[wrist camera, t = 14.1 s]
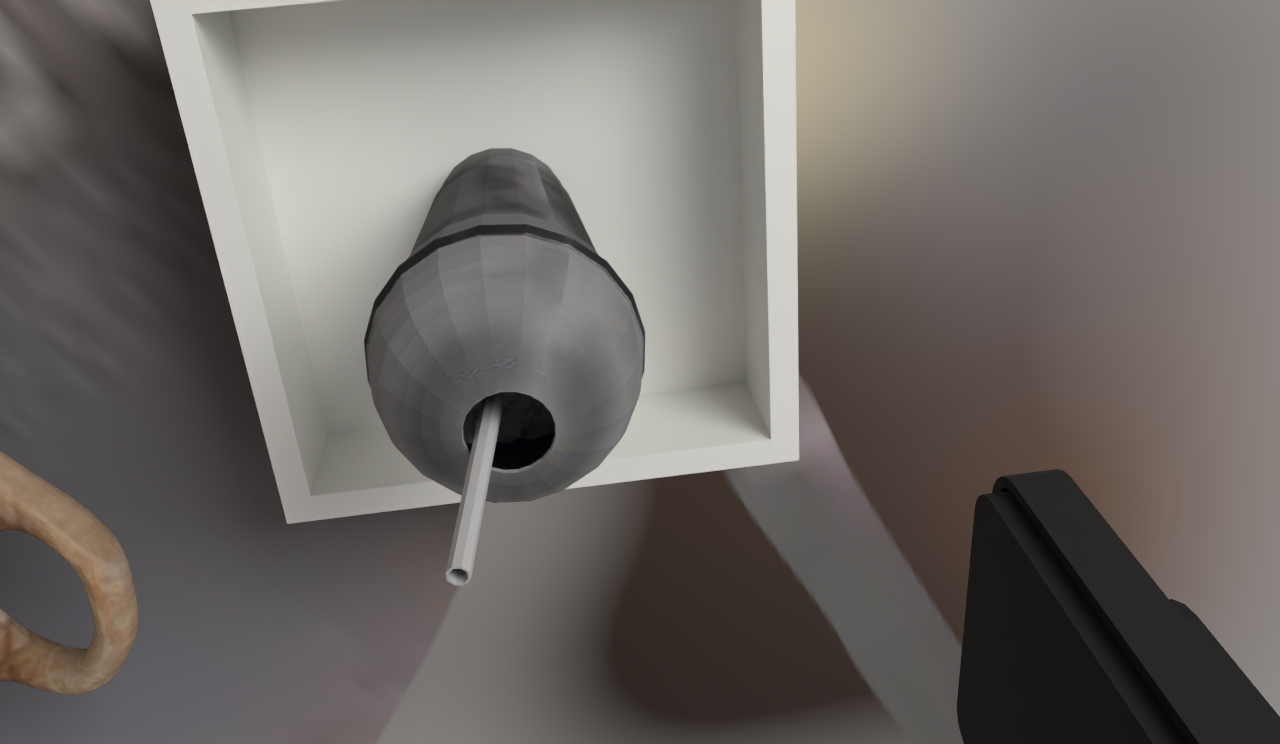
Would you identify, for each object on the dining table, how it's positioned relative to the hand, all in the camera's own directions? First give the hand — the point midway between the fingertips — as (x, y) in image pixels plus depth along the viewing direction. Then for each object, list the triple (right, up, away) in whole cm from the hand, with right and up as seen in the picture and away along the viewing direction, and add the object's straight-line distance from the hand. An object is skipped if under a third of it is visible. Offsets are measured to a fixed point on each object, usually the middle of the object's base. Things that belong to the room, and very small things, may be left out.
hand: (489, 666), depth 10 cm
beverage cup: (-3, +8, +29) cm, 31 cm away
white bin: (-3, +9, +30) cm, 31 cm away
